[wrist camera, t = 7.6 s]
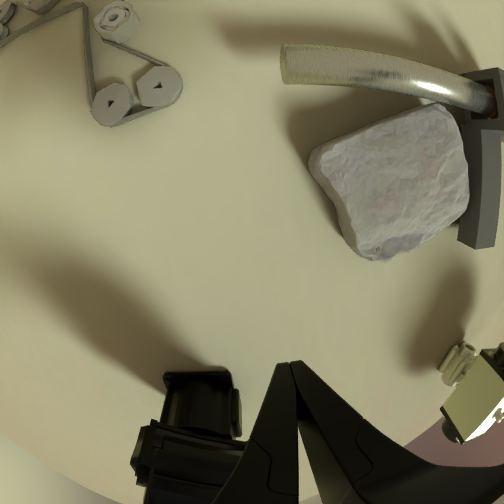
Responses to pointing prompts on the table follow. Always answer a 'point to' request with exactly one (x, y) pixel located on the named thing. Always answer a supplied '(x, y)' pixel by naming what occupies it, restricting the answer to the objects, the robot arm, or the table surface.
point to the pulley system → (114, 33)
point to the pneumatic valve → (472, 391)
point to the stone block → (395, 180)
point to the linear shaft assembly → (383, 76)
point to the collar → (483, 165)
